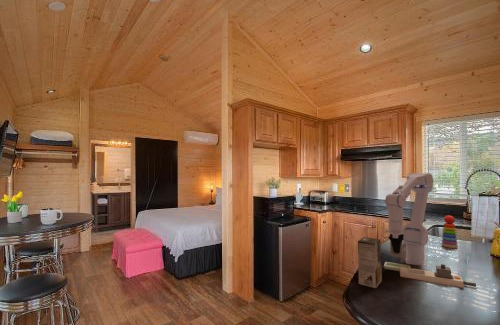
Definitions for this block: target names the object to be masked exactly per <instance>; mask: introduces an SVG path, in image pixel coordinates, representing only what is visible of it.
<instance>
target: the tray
mask: <svg viewBox="0 0 500 325" xmlns="http://www.w3.org/2000/svg"><path fill="white" fill-rule="evenodd" d="M401 267H406V268H411V264H404V263H395V262H388V261H385V262H384V265H383V269H384V270H391V271H397V272H400V268H401Z"/></svg>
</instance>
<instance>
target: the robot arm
mask: <svg viewBox="0 0 500 325" xmlns="http://www.w3.org/2000/svg"><path fill="white" fill-rule="evenodd" d="M433 185H434V177H433V175H432V173H430V172H424V173H423V172H418V173H414V172H413V173H411V172H410V173H408V175H407V177H406V181H405V183H404V184H402V185H398V186H397V187H396V189H395V190H394V191H393V192H392V193H389V194H387V195H386V196H385V199H384V203H385V205H386V210H387V212H388V213H387V214H388V215H387V217H388V229H386V230H385V232H387V233H389V235H388V239H389V242H391V244H392V248H393V252H394V253H400V246H401V242H402V243H403V242H404V244H405V246H406V247H405V249H406V250H405V254H406V257H405V264H406V265H415V266H422V267H427V264H426V260H425V246H426V245H427V244H428V242H429V231H428V229H427V228H426V227H425V226H424V225H423V224H424V220H425V219H424V218H425V213H426V209H427V202H428V198H429V197H428V196H429V193H431V192H432V190H433ZM411 191H413V192H415V198H414V202H413V203H414V204H413V207H412V212H411V218H410V222H408V223H407V224H405V225H404V214H403V213H404V210H403V208H404V207H405V205H406V201H407V199H408V198H409V197H410V195H411V194H412V193H411Z"/></svg>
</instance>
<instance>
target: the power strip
mask: <svg viewBox="0 0 500 325" xmlns="http://www.w3.org/2000/svg"><path fill="white" fill-rule="evenodd" d="M399 275H400V278H407V279H413V280H419V281H425V282H429V283H436V284H442V285H447V286H453V287H458V288H459V289H464V288H465V287H464V286H469V287H474V288H475V287H477V283H476V282H470V281H464V280H463V279H462V277H461V275H455V274H451V279H446V278H440V277H436V271H429V270H424V269H417V268H413V267H410V268H406V267H401V268H400V271H399Z"/></svg>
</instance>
